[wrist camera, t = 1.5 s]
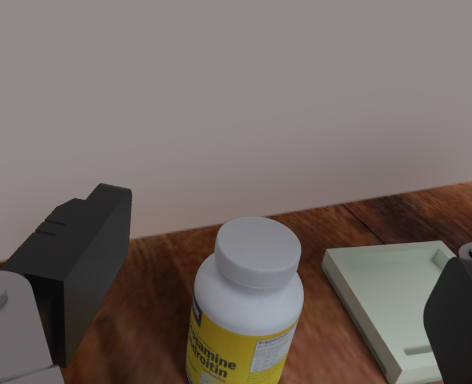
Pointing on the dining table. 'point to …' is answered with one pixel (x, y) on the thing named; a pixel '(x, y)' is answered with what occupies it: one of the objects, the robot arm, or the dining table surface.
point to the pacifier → (465, 251)
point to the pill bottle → (245, 304)
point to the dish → (391, 302)
